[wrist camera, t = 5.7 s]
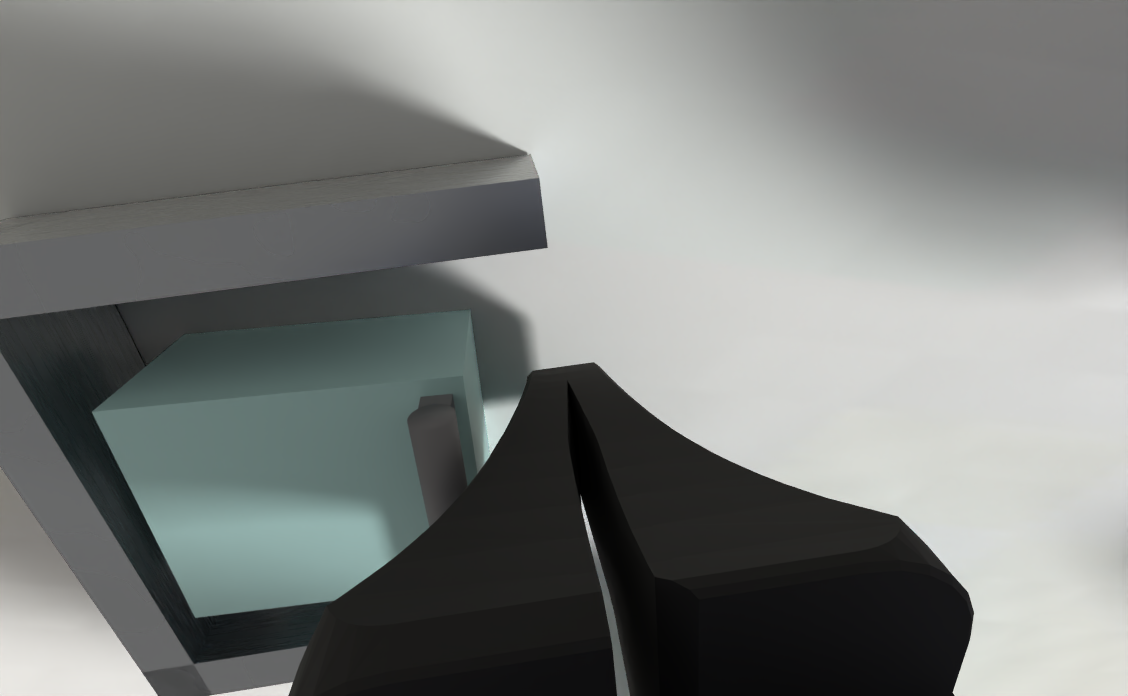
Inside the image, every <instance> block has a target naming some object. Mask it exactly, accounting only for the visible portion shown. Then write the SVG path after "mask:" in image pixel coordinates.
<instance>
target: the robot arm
mask: <svg viewBox="0 0 1128 696" xmlns="http://www.w3.org/2000/svg"><path fill="white" fill-rule="evenodd" d="M581 497H582V501H583V504H584V508H585V511H586V515H587V518H588V521H589V525H590V528H591V532H592V535H593V538H594V542H595V545H596V549H597V552H598V555H599V559H600V562H601V566H602V569H603V572H604V576H605V579H606V583H607V586H608V589H609V593H610V597H611V601H612V605H613V609H614V613H615V619H616V624H617V629H618V634H619V639H620V645H621V650H622V655H623V660H624V665H625V671H626V676H627V681H628V687H629V692H630V696H954V694H953V693H952V692H953V689H954V686H955V683H956V680H957V677H958V674H959V671H960V668H961V665H962V662H963V659H964V656H965V653H966V650H967V647H968V644H969V641H970V636H971V629H972V622H973V615H974V611H973V608H972V604H971V601H970V597H969V594H968V592H967V591H966V590H965V589H964V587H963V586H962V585H961V584H960V583H959V582H958V581H957V580H956V578H955V577H954V576H953V575H952V574H951V573H950V572H949V570H948V569H947V568H946V567H945V566H944V564H943V563H942V562H941V561H940V560H939V559H938V557H937V556H936V555H935V554H934V553H933V552H932V550H931V549H930V548H929V547H928V546H927V545H926V544H925V543H924V542H923V541H922V540H921V539H920V538H919V537H918V536H917V535H916V534H915V533H914V532H913V531H912V530H911V529H910V528H909V527H908V526H907V525H906V524H905V523H904V522H903V521H902V520H901V519H900V518H899V517H898V516H894V515H890V514H886V513H882V512H879V511H875V510H871V509H867V508H863V507H859V506H855V505H852V504H848V503H844V502H840V501H836V500H832V499H829V498H825V497H822V496H819V495H816V494H813V493H810V492H807V491H804V490H801V489H798V488H795V487H792V486H789V485H786V484H783V483H781V482H778V481H775V480H773V479H770V478H768V477H765V476H762V475H760V474H758V473H755V472H753V471H751V470H749V469H746V468H744V467H742V466H740V465H737V464H735V463H733V462H731V461H728V460H726V459H724V458H722V457H720V456H718V455H716V454H714V453H712V452H710V451H709V450H707V449H705V448H703V447H702V446H700V445H698V444H696V443H694V442H693V441H691V440H689V439H687V438H686V437H684V436H682V435H681V434H679V433H678V432H676V431H675V430H673V429H672V428H670V427H669V426H667V425H666V424H664V423H663V422H662V421H660V420H659V419H657V418H656V417H655V416H654V415H652V414H651V413H650V412H648V411H647V410H646V409H645V408H644V407H642V406H641V405H640V404H639V403H638V402H636V401H635V400H634V399H633V398H632V397H630V396H629V395H628V394H627V393H626V392H625V391H624V390H623V389H622V388H621V387H619V386H618V385H617V384H616V383H615V382H614V381H613V380H612V379H611V378H610V377H609V376H608V375H607V374H606V373H605V372H604V371H603V370H602V369H601V368H600V367H599V366H598V365H597V364H595V363H594V362H593V363H586V364H578V365H571V366H564V367H557V368H550V369H542V370H535V371H532V372H531V373H530V375H529V376H528V377H527V382H526V386H525V389H524V392H523V394H522V397H521V399H520V402H519V404H518V406H517V408H516V410H515V412H514V414H513V416H512V418H511V420H510V423H509V425H508V426H507V428H506V430H505V432H504V434H503V435H502V437H501V439H500V440H499V442H498V444H497V445H496V447H495V448H494V450H493V452H492V453H491V455H490V457H489V458H488V459H487V461H486V462H485V464H484V465H483V467H482V468H481V469H480V471H479V472H478V474H477V475H476V476H475V477H474V479H473V480H472V481H471V483H470V484H469V485H468V486H467V488H466V489H465V490H464V491H463V492H462V493H461V495H460V496H459V497H458V498H457V499H456V500H455V501H454V502H453V504H452V505H451V506H450V507H449V508H448V509H447V510H446V511H445V512H444V513H443V514H442V515H441V516H440V517H439V518H438V519H437V520H436V521H435V522H434V523H433V524H432V525H431V526H430V527H429V528H428V529H427V530H426V531H425V532H423V533H422V534H421V535H420V536H419V537H418V538H417V539H416V540H414V541H413V542H412V543H411V544H410V545H409V546H407V547H406V548H405V549H404V550H403V551H401V552H400V553H399V554H398V555H397V556H395V557H394V558H393V559H392V560H390V561H389V562H388V563H386V564H385V565H384V566H383V567H381V568H380V569H378V570H377V571H376V572H374V573H373V574H371V575H370V576H369V577H367V578H366V579H364V580H363V581H362V582H360V583H359V584H357V585H356V586H355V587H353V588H352V589H350V590H349V591H348V592H346V593H345V594H343V595H342V596H341V597H339V598H338V599H336V600H335V601H333V602H332V603H330V604H329V605H327V606H326V608H325V610H324V612H323V614H322V616H321V619H320V621H319V623H318V625H317V628H316V630H315V632H314V634H313V635H312V637H311V639H310V641H309V644H308V646H307V648H306V651H305V653H304V655H303V658H302V660H301V662H300V665H299V667H298V670H297V673H296V676H295V678H294V681H293V684H292V687H291V690H290V693H289V696H617V690H616V680H615V670H614V660H613V650H612V643H611V636H610V631H609V626H608V621H607V616H606V610H605V605H604V600H603V595H602V590H601V586H600V583H599V579H598V575H597V572H596V568H595V564H594V560H593V556H592V552H591V548H590V544H589V540H588V535H587V531H586V527H585V522H584V518H583V514H582V509H581Z"/></svg>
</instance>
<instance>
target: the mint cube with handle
mask: <svg viewBox="0 0 1128 696" xmlns="http://www.w3.org/2000/svg"><path fill="white" fill-rule="evenodd" d="M92 414H93V416H94V418H95V420H96V422H97V424H98V426H99V427H100V429H101V431H102V433H103V435H104V437H105V439H106V441H107V443H108V445H109V447H110V449H111V451H112V453H113V455H114V457H115V459H116V461H117V463H118V465H119V467H120V469H121V471H122V473H123V475H124V477H125V479H126V481H127V483H128V485H129V487H130V489H131V491H132V493H133V495H134V497H135V499H136V501H137V503H138V505H139V507H140V509H141V511H142V513H143V515H144V517H145V519H146V521H147V523H148V525H149V527H150V529H151V531H152V533H153V535H154V537H155V539H156V541H157V543H158V545H159V547H160V549H161V551H162V553H163V555H164V557H165V559H166V561H167V563H168V565H169V567H170V569H171V571H172V573H173V575H174V577H175V579H176V581H177V583H178V585H179V587H180V589H181V591H182V593H183V595H184V597H185V599H186V601H187V603H188V605H189V607H190V609H191V611H192V613H193V614H194V616H195V618H198V617H207V616H215V615H223V614H231V613H239V612H247V611H255V610H263V609H271V608H279V607H287V606H295V605H303V604H312V603H320V602H328V601H335V600H336V599H338V598H339V597H341V596H342V595H343V594H345V593H346V592H348V591H349V590H350V589H352V588H353V587H355V586H356V585H357V584H359V583H360V582H362V581H363V580H364V579H366V578H367V577H369V576H370V575H371V574H373V573H374V572H376V571H377V570H378V569H380V568H381V567H383V566H384V565H385V564H386V563H388V562H389V561H390V560H392V559H393V558H394V557H395V556H397V555H398V554H399V553H400V552H401V551H403V550H404V549H405V548H406V547H407V546H409V545H410V544H411V543H412V542H413V541H414V540H416V539H417V538H418V537H419V536H420V535H421V534H422V533H423V532H425V531H426V530H427V529H428V528H429V527H430V526H431V525H432V524H433V523H434V522H435V521H436V520H437V519H438V518H439V517H440V516H441V515H442V514H443V513H444V512H445V511H446V510H447V509H448V508H449V507H450V506H451V505H452V504H453V502H454V501H455V500H456V499H457V498H458V497H459V496H460V495H461V493H462V492H463V491H464V490H465V489H466V488H467V486H468V485H469V484H470V483H471V481H472V480H473V479H474V477H475V476H476V475H477V474H478V472H479V471H480V469H481V468H482V467H483V465H484V464H485V462H486V461H487V459H488V458H489V457H490V450H489V443H488V436H487V428H486V421H485V414H484V406H483V399H482V392H481V384H480V377H479V370H478V362H477V355H476V348H475V341H474V333H473V326H472V319H471V311H470V309H469V310H458V311H446V312H435V313H423V314H412V315H400V316H389V317H377V318H366V319H355V320H343V321H332V322H320V323H309V324H297V325H286V326H274V327H263V328H251V329H240V330H228V331H217V332H205V333H194V334H184V335H183V336H182V337H180V338H179V339H178V340H177V341H176V342H174V343H173V344H172V345H171V346H170V347H168V348H167V349H166V350H165V351H164V352H162V353H161V354H160V355H159V356H158V357H157V358H155V359H154V360H153V361H152V362H151V363H149V364H148V365H147V366H146V367H145V368H143V369H142V370H141V371H140V372H139V373H137V374H136V375H135V376H134V377H133V378H132V379H130V380H129V381H128V382H127V383H126V384H124V385H123V386H122V387H121V388H120V389H118V390H117V391H116V392H115V393H114V394H112V395H111V396H110V397H109V398H108V399H107V400H105V401H104V402H103V403H102V404H101V405H99V406H98V407H97V408H96V409H95V410H93V411H92Z"/></svg>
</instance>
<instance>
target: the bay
mask: <svg viewBox="0 0 1128 696" xmlns="http://www.w3.org/2000/svg"><path fill="white" fill-rule="evenodd" d="M542 248H548V247H547V239H546V231H545V222H544V214H543V206H542V197H541V189H540V181H539V176H538V173H537V171H536V168H535V165H534V162H533V160H532V157H531V154H530V155H522V156H513V157H505V158H497V159H489V160H481V161H473V162H464V163H456V164H448V165H440V166H432V167H424V168H416V169H407V170H399V171H391V172H383V173H375V174H367V175H359V176H350V177H342V178H334V179H326V180H318V181H310V182H301V183H293V184H285V185H277V186H269V187H261V188H253V189H244V190H236V191H228V192H220V193H212V194H204V195H195V196H187V197H179V198H171V199H163V200H155V201H147V202H138V203H130V204H122V205H114V206H106V207H98V208H90V209H81V210H73V211H65V212H57V213H49V214H41V215H32V216H24V217H16V218H8V219H5V220H1V221H0V467H1V468H2V470H3V471H4V473H5V474H6V475H7V477H8V478H9V480H10V481H11V483H12V484H13V486H14V487H15V488H16V490H17V491H18V493H19V494H20V496H21V497H22V499H23V500H24V502H25V503H26V504H27V506H28V507H29V509H30V510H31V512H32V513H33V515H34V516H35V518H36V519H37V520H38V522H39V523H40V525H41V526H42V528H43V529H44V531H45V532H46V534H47V535H48V536H49V538H50V539H51V541H52V542H53V544H54V545H55V547H56V548H57V549H58V551H59V552H60V554H61V555H62V557H63V558H64V560H65V561H66V563H67V564H68V565H69V567H70V568H71V570H72V571H73V573H74V574H75V576H76V577H77V579H78V580H79V581H80V583H81V584H82V586H83V587H84V589H85V590H86V592H87V593H88V594H89V596H90V597H91V599H92V600H93V602H94V603H95V605H96V606H97V608H98V609H99V610H100V612H101V613H102V615H103V616H104V618H105V619H106V621H107V622H108V624H109V625H110V626H111V628H112V629H113V631H114V632H115V634H116V635H117V637H118V638H119V640H120V641H121V642H122V644H123V645H124V647H125V648H126V650H127V651H128V653H129V654H130V655H131V657H132V658H133V660H134V661H135V663H136V664H137V666H138V667H139V669H140V670H141V671H142V673H143V674H144V676H145V677H146V679H147V680H148V682H149V683H150V685H151V686H152V687H153V689H154V690H155V692H156V693H157V695H158V696H209V695H215V694H222V693H228V692H234V691H240V690H246V689H253V688H259V687H265V686H271V685H277V684H284V683H290V682H293V681H294V678H295V676H296V673H297V670H298V667H299V665H300V662H301V660H302V658H303V655H304V653H305V651H306V648H307V646H308V644H309V641H310V639H311V637H312V635H313V634H314V632H315V630H316V628H317V625H318V623H319V621H320V619H321V616H322V614H323V612H324V610H325V608H326V606H327V605H329V604H330V603H332V602H333V601H328V602H320V603H312V604H303V605H295V606H287V607H279V608H271V609H263V610H255V611H247V612H239V613H231V614H223V615H215V616H207V617H198V618H195V616H194V614H193V613H192V611H191V609H190V607H189V605H188V603H187V601H186V599H185V597H184V595H183V593H182V591H181V589H180V587H179V585H178V583H177V581H176V579H175V577H174V575H173V573H172V571H171V569H170V567H169V565H168V563H167V561H166V559H165V557H164V555H163V553H162V551H161V549H160V547H159V545H158V543H157V541H156V539H155V537H154V535H153V533H152V531H151V529H150V527H149V525H148V523H147V521H146V519H145V517H144V515H143V513H142V511H141V509H140V507H139V505H138V503H137V501H136V499H135V497H134V495H133V493H132V491H131V489H130V487H129V485H128V483H127V481H126V479H125V477H124V475H123V473H122V471H121V469H120V467H119V465H118V463H117V461H116V459H115V457H114V455H113V453H112V451H111V449H110V447H109V445H108V443H107V441H106V439H105V437H104V435H103V433H102V431H101V429H100V427H99V426H98V424H97V422H96V420H95V418H94V416H93V414H92V411H93V410H95V409H96V408H97V407H98V406H99V405H101V404H102V403H103V402H104V401H105V400H107V399H108V398H109V397H110V396H111V395H112V394H114V393H115V392H116V391H117V390H118V389H120V388H121V387H122V386H123V385H124V384H126V383H127V382H128V381H129V380H130V379H132V378H133V377H134V376H135V375H136V374H137V373H139V372H140V371H141V370H142V369H143V368H145V365H144V363H143V361H142V359H141V357H140V355H139V353H138V351H137V349H136V347H135V344H134V342H133V340H132V338H131V336H130V334H129V332H128V330H127V328H126V326H125V324H124V322H123V320H122V318H121V316H120V314H119V312H118V310H117V308H116V306H115V304H120V303H127V302H135V301H143V300H150V299H158V298H166V297H173V296H181V295H189V294H196V293H204V292H212V291H219V290H227V289H235V288H243V287H250V286H258V285H266V284H273V283H281V282H289V281H296V280H304V279H312V278H319V277H327V276H335V275H342V274H350V273H358V272H365V271H373V270H381V269H388V268H396V267H404V266H411V265H419V264H427V263H434V262H442V261H450V260H457V259H465V258H473V257H481V256H488V255H496V254H504V253H511V252H519V251H527V250H534V249H542Z"/></svg>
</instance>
